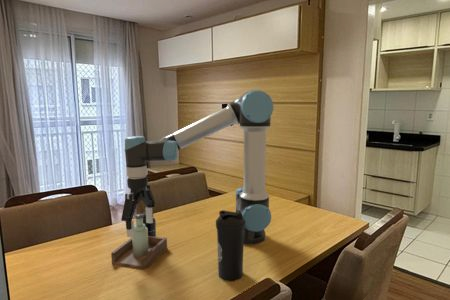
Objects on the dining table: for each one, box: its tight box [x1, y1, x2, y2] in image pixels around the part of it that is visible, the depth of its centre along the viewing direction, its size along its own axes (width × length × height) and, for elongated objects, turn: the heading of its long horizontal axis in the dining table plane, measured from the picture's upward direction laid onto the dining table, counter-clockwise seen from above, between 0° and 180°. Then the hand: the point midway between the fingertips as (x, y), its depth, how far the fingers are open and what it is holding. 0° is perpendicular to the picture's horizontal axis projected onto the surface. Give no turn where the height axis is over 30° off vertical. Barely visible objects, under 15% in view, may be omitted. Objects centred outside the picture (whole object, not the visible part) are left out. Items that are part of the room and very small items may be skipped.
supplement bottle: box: [141, 211, 157, 237], centre depth 134 cm, size 7×7×12 cm
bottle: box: [131, 213, 149, 257], centre depth 118 cm, size 6×6×16 cm
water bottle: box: [215, 209, 245, 282], centre depth 104 cm, size 10×10×23 cm
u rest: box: [110, 236, 168, 270], centre depth 119 cm, size 14×17×4 cm
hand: (140, 229), depth 118 cm, fingers open, 13 cm apart
